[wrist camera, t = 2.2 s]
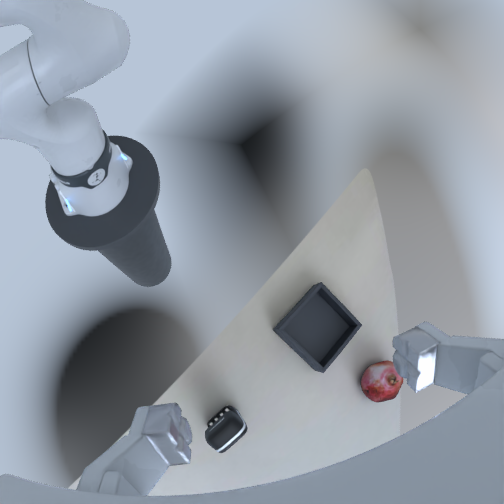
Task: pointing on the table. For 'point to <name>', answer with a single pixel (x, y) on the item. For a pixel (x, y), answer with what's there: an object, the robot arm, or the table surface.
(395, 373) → the fruit
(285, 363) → the table surface
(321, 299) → the tote
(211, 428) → the battery charger
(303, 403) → the table surface
